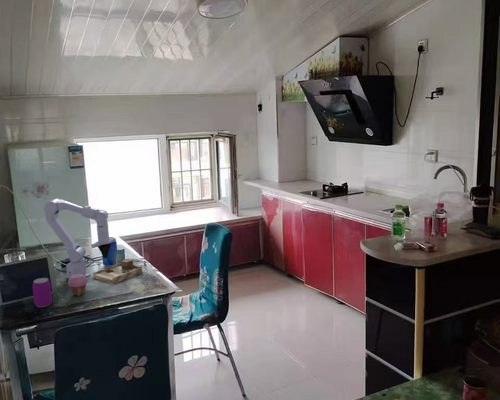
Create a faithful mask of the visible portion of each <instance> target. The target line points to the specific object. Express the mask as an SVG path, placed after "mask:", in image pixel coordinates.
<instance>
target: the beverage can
mask: <svg viewBox="0 0 500 400" xmlns="http://www.w3.org/2000/svg"><path fill="white" fill-rule="evenodd" d="M32 292H33V294H32V295H33V300H34V301H33V302H34V306H36V307H37V308H46V307H49V306H50V305H51V304H52V303H53V297H52V287H51V282H50V280H49V278H48V277H41V278H40V277H39V278H36V279H34V280H33V282H32Z"/></svg>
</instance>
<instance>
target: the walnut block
mask: <svg viewBox="0 0 500 400" xmlns="http://www.w3.org/2000/svg"><path fill="white" fill-rule="evenodd" d="M120 263H121V265H122V269H124V270H129V269H132V268H134V266H133V265H134V259H130V258H125V259H123V260H121V261H120Z"/></svg>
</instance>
